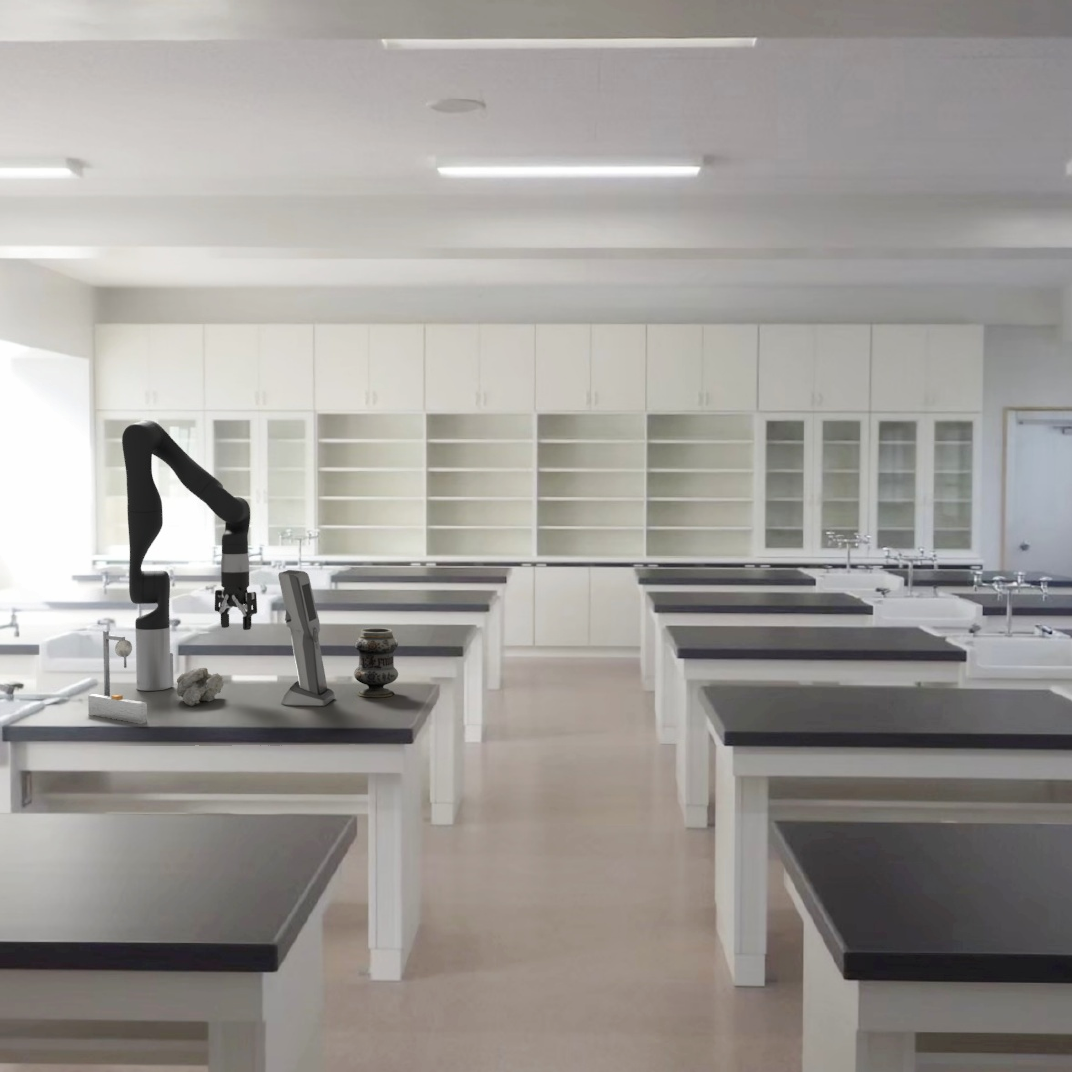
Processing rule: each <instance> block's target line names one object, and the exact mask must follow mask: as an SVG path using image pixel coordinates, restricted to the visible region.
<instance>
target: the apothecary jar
mask: <svg viewBox="0 0 1072 1072" xmlns="http://www.w3.org/2000/svg"><path fill="white" fill-rule="evenodd" d="M398 646H399V642H398V639H396V637H394V634H393V630H392V629H391V628H385V627H369V628H367V627H366V628H362V629H361V630H360V635H359V636H358V638H356V640H355V642H354V647H355V649H356V650H357V651H358V655H359V656H358V667H357V668H355V670H354V673H353V676H354V678H355V679H356V680H357V682H359V683H361V684H363V685H365V686H368V687H367V688H365V689H363V690H361V691H359V692H358V693H357V694H358V695H357V696H359V697H362V698H370V699H371V698H372V699H373V698H374V699H375V698H378V699H379V698H387V697H388V698H389V697H392V696H393V695H395V692H394V691H393V690H390V689H389V688H388V687H387V688H386V687H384V686H385V685H389V684H392V683H394V682H395V681H396V680H397V678H398V676H399V672H398V669H397V668H395V665H394V654H395V653H394V652H395V650H396V649H398Z"/></svg>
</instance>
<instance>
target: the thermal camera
mask: <svg viewBox="0 0 1072 1072" xmlns="http://www.w3.org/2000/svg"><path fill="white" fill-rule="evenodd" d="M277 577H278V580H279V584H280V591H281V595H282V600H283V604H284V608H285V617H284V621H285V627H287V628H290V636H291V643H292V649H293V650H292V651H293V656H294V662H295V665H296V670H297V676H298V677H297V678H298V680H297V681H295V682H294V683H293V684H291V685H292V686H290V687H289V689H288V690H287V691H286V693H285V694H284V695H283V698H282V699H281V705H283V706H287V707H288V706H290V707H292V706H293V707H294V706H295V707H325V706H327V705H328V704H330V703H331V702H332V701H333V700H334V699H336V696H335V692H334V691H333V690H332V689H331V688H328V684H327V679H326V672H325V667H324V660H323V657H322V650H321V645H320V640H319V635H320V630H321V626H320V618H319V614H318V609H317V606H316V602H315V598H314V594H313V593H314V592H313V588H312V583H311V579H310V576H309V574H308V572H306V571H304V570H294V569H287V570H285V571H282V572H279V573H278V576H277Z"/></svg>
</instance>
